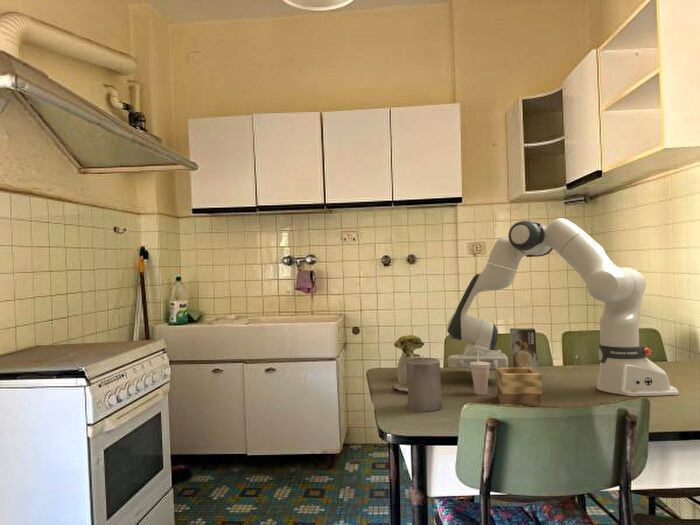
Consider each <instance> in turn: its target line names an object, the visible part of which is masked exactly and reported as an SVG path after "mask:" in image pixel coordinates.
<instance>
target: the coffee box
mask: <svg viewBox="0 0 700 525" xmlns="http://www.w3.org/2000/svg"><path fill="white" fill-rule="evenodd" d="M509 333H510V335H509V336H510V352H511V354H510V356H511V368H523V367H532V368H534V369H535V370H538V354H537V334H536V328H530V327H529V328H528V327H526V328H523V327H522V328H516V327H515V328H512V327H511V328H509Z"/></svg>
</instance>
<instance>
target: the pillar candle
mask: <svg viewBox="0 0 700 525" xmlns="http://www.w3.org/2000/svg"><path fill="white" fill-rule="evenodd" d="M440 362H441V361H440V359H438V358H433V357H424V355H423V356H422V357H421V358H413V359H409V360H407V387H408V391H407V406H408V409H409V410H410V411H413V412H419V413H420V412H421V413H424V412H427V413H428V412H436V411H439V410H441V409H442V406H443V402H442V400H443V399H442V383H441V382H442V380H441V363H440Z"/></svg>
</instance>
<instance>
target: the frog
mask: <svg viewBox="0 0 700 525" xmlns="http://www.w3.org/2000/svg"><path fill="white" fill-rule="evenodd" d="M393 345H394V347H396V349H399V350H401V355H400V358H399V361H398V363H397V368H396V369H397V371H396V372H397V375H396V376H397V381H398V382H397V384H395V385H392V390H394V389H397V390H399V391H401V392H404V391H405V392H408V387H407V360H409V359H413V358H415V357H414V355H413V352H415V350H417V349H421V348H423V347H422V346H425V342H422V338H421V337H419V336H416V335H411V334H410V335H408V334H407V335H402V336H400V337H399V338H398V339H397V340H396V341H395V342H394V344H393Z"/></svg>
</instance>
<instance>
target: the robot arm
mask: <svg viewBox="0 0 700 525" xmlns="http://www.w3.org/2000/svg"><path fill="white" fill-rule="evenodd" d="M553 250H554V251H555V252H556V253H557V254H558V255H559V256H560V257H561V258H562V259H563V260H565V261H566V262H567V263H568V264H569V265H570V266H571V267H572V268H573V269H574V271H576V272H577V273H578V275H579V276H580V278H581V279H582V281H583V283H585V285H586V288H587V292H588V293H589V295H590V296H591V297H592V298H593V299H595V300H597V301H600V302H603V303H604V308H603V311H602V314H601V317H600V319H599V338H600V339H599V342H600V344H599V345H598V360H599V363H600V365H599V366H600V367H599V375H598V379H597V384H596V389H597V390H599V391H602V392H605V393H611V394H616V395H617V394H618V395H622V396H623V395H624V396H628V397H651V396H654V397H655V396H657V397H658V396H677V395H679V390H678V389H677V388H676V387H674V386H673V385H670V380H669V376H668V374H667V373H666V371H665V370H664V369H663V368H661V367H659V366H658V365H657V364H656V363H655V362H653V361H652V360H650V359H649V358H648V357H647V356H651V355H652V353H653V350H652V349H651V348H648V347H643V346H641V345H640V332H639V331H640V329H639V323H640V322H639V321H640V313H641V308H642V307H641V306H642V301H643V294H644V292H645V290H646V287H647V283H646V282H647V281H646V279H645V277H644V275H643V274H642V273H641V272H640V271H638V270H636V269H635V268H631V267H626V266H625V267H619V266H617V265H616V264H614V262H613V261H612V260H611V259H610V257H609V256H608V255H607V253H606V252H605V249H604V247H602V245H600V243H598V242H596V240H594V239H593V238H592V237H591V236H590V235H589V234H588V233H587V232H585V231H584V229H582V228H581V227H579V226H578V225H577V224H575V223H574V222H571V221H570V220H568V219H566V218H562V217H558V218H555V219H553V220H552V221H551V222H549V223H548V224H547V225H543V224H542V223H539V222H535V221H530V220H523V221H518V222H516V223H513V225H511V227H510V229H509V231H508V236H507V237H506V236H505V237H501V238H498V239H497V240H496V241H495V244H494V246H492V249H491V252H490V253H489V256H488V259H487V262H486V264H485V267H484V269H483V270H482V271H481V272H480V273H476V274H475V275H474V276H473V277H472V278H471V280H470V281H469V284H468V285H467V287H466V289H465V291H464V292H463V295H462V297H461V299H460V301H459V304H458V306H457V308H456V309H455V311H454V313H453V314H452V316H451V317H450V319H449V320H448V322H447V326H446V328H447V330H446V331H447V333H448V336H450V337H451V338H452V339H453V340H457V341H463V342H467V343H468V344H467V345H466V346H465V348H464V350H463V354H452V355H449V356H448V358H447V359H446V360H447V362H448V363H447V364H448V368H450V369H469V370H470V371H471V367H470V363H471V362H477V349H478V350H479V362H488V363H490V367H489V370H496V368H509V358H508V356H507V354H505V353H503V352H502V350H501V349H495V347H496V345H497V344H498V343H497V341H498V337H499V336H498V335H499V332H498V328H497V326H496V324H495V323H494V322H491V321H489V320H484V319H481V318H477V317H473V316H472V315H471V316H470V315H468V313H467V312H468V310H469V309H470V307H471V305H472V302H473V301H474V300H475V299H474V298H475V297H476V296H477V295H478V294H480V293H483V292H488V291H500V290H504V289H507V288H508V287H510V286H511V285H512V284H513V282H514V280H515V277H516V275H517V272H518V268H519V264H520V261H521V260H522V258H524V257H526V258H534V257H535V258H536V257H537V258H538V257H544V256H547V255H549V254H550V253H551V252H552V251H553Z"/></svg>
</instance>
